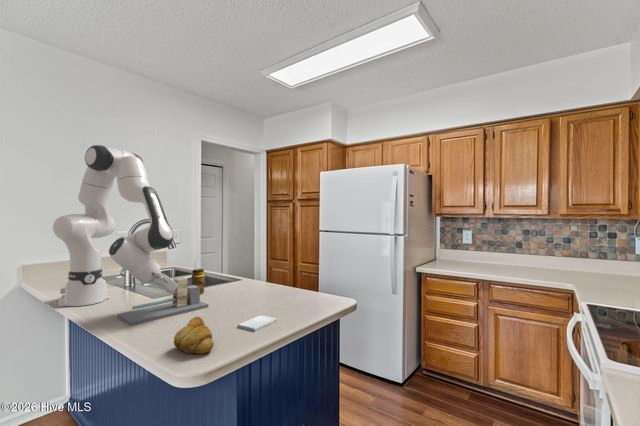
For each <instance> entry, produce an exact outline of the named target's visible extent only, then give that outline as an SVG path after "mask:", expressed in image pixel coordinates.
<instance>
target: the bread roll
mask: <svg viewBox="0 0 640 426" xmlns="http://www.w3.org/2000/svg"><path fill="white" fill-rule="evenodd" d="M173 337H174V339H173V345H174V347H175V348H176V349H178V350H181V352H184V353H185V354H192V353H193V354H194V353H195V354H199V355H200V354H205V353H209V352H210V351H211V350H212V349H213V347H214V344H215V342H214V340H213V333H212V331H211V329H210V328H209V327H208V326H207V325H206V324H205V322H204V319H203V318H202V317H200V316H195V317H193V318H191V319H189V321H188V323H187V324H186V325H185V326H183V327H182V328H180V329H179V330H178V331H176V333H175V335H174V336H173Z"/></svg>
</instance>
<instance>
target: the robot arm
mask: <svg viewBox="0 0 640 426" xmlns="http://www.w3.org/2000/svg"><path fill="white" fill-rule="evenodd" d="M84 155H85V156H84V161H85V164H86V165H87V167H86V170H85V172H84V174H83V176H82V177H83V178H82V181H81V184H80V188H79V192H78V196H77V198H78V201H79V203H81V204H82V205H83V206H84V214H83V213H81V214H80V213H77V214H76V213H74V214H72V213H71V214H67V215H62V216H59V217H57V218H56V219H55V220H54V222H53V225H52V231H53V233H54V235H55V237H57V238H58V239H60V240H61V241H62V242H63V243H64V244H65V246H66V248H67V250H68V254H69V271H68V275H67V279H68V281H67V282H66V284H65V287H62V288H60V292H59V294H60V295H62V296H60V297H58V302H57V303H58V305H57V307H82V306H88V305H90V306H91V305H94V304H99V303H101V302H104V301H106V300H108V299H110V298H111V295H109V294H107V283H106V282H107V281H106V280H105V279H103V269H102V252H101V251H100V249H98V248H96V247H95V246H94V244H93V242H92V241H93V240H92V239H99V238H104V237H108V236H110V235H112V234H113V233H114V232H115V229H116V222H115V220H114V219H113V217H112V216H111V214H110V211H109V202H110V197H111V193H112V188H113V185H114V180H115V178H116V181H117V182H116V183H117V190H118V193H119V194H120V197H122V198H123V199H124V200H126V201H128V202H132V203H138V204H140V203H141V204H143V206H144V207H145V210H146V213H147V216H148V219H149V225H148V227H145V228H143V229H139V230H137V231H135V232H133V233H131V234H129V235H127V236H124V237H122V236H121V237H118V238H117V239H116V240H115V241H113V243H112V244H111V245H110V247H109V250H108V254H109V256H110V258H111V259H112V261H114V263H116V264H117V265H118V266H119V267H120V268H122V269H123V270H124V271H125V270H126V271H127V272H129V273H130V275H131V276H132V277H133V278H135V279H136V280H137V281H138V282H140V283H141V284H148V285H150V286H152V287H155V288H158V289H159V290H160V289H161V290H163V291H165V292H167V293H168V294H170V295H173V294H174V293H175V290H176V289H177V287H178V284H177V283H176V282H174V281H173V278H170V277H169V276H168V275H166V274H165V273H162V270H161V265H160V264H159V263H158V262H156V261H155V260H154V258H152V257H150V254H151V253H153V252H156V251H159V250H162V249H166V248H169V247H170V246H171V245H172V243H173V241H174V231H173V228H172V227H171V225H170V224H169V222H168V219H167V216H166V213H165V210H164V208H163V205H162V201H161V199H160V196H159V194H158V193H157V191H156V189H155V188H153V187H151V185H150V181H149V178H148V173H147V171H146V167H145V164H144V162H143V161H144V160H143V158H142V157H141V156H140V155H138V154H136V153H133V152H129V151H127V150H123V149H120V148H116V147H115V148H114V147H110V146H109V147H108V146H104V145H100V144H99V145H98V144H96V145H95V144H94V145H91V146H90V147H88V149H87V150H86V151H85V154H84Z"/></svg>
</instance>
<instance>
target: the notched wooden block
mask: <svg viewBox="0 0 640 426" xmlns="http://www.w3.org/2000/svg"><path fill="white" fill-rule="evenodd" d="M172 280H173V281H174V282H176V283H177V284H178V287H177V289H176V290H175V293H174V294H172V299H173V298H177V301H173V305H174V306H176V307H180V306H185V305H187V286H188V277H183V276H181V277H174V278H172Z"/></svg>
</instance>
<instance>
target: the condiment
mask: <svg viewBox="0 0 640 426" xmlns="http://www.w3.org/2000/svg"><path fill="white" fill-rule="evenodd" d="M204 272H205V270H204V269H203V268H195V269H192V273H191V285H195V286H199V287H200V296H202V295H207V293H206V292H205V273H204Z"/></svg>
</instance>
